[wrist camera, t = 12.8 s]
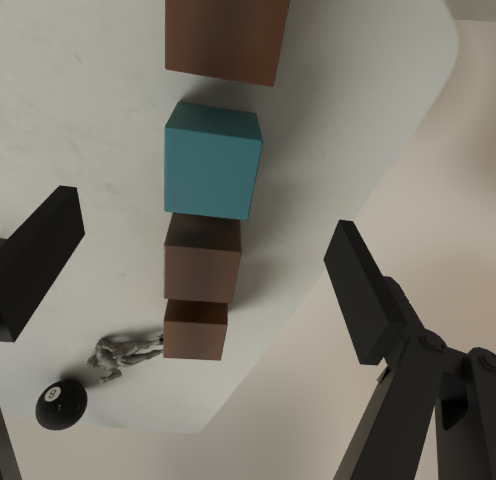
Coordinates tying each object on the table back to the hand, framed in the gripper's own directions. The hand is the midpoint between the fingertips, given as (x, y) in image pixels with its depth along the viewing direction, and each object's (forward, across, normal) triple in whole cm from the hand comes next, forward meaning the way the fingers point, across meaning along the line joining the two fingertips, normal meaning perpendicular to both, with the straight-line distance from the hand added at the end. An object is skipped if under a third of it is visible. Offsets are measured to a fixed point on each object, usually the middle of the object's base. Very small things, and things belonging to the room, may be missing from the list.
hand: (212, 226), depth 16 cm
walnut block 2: (+12, 0, -9) cm, 15 cm away
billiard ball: (+12, -18, -38) cm, 44 cm away
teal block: (+12, 0, 0) cm, 12 cm away
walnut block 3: (+12, 0, -18) cm, 22 cm away
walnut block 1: (+12, 0, +9) cm, 15 cm away
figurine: (+12, -8, -28) cm, 32 cm away
